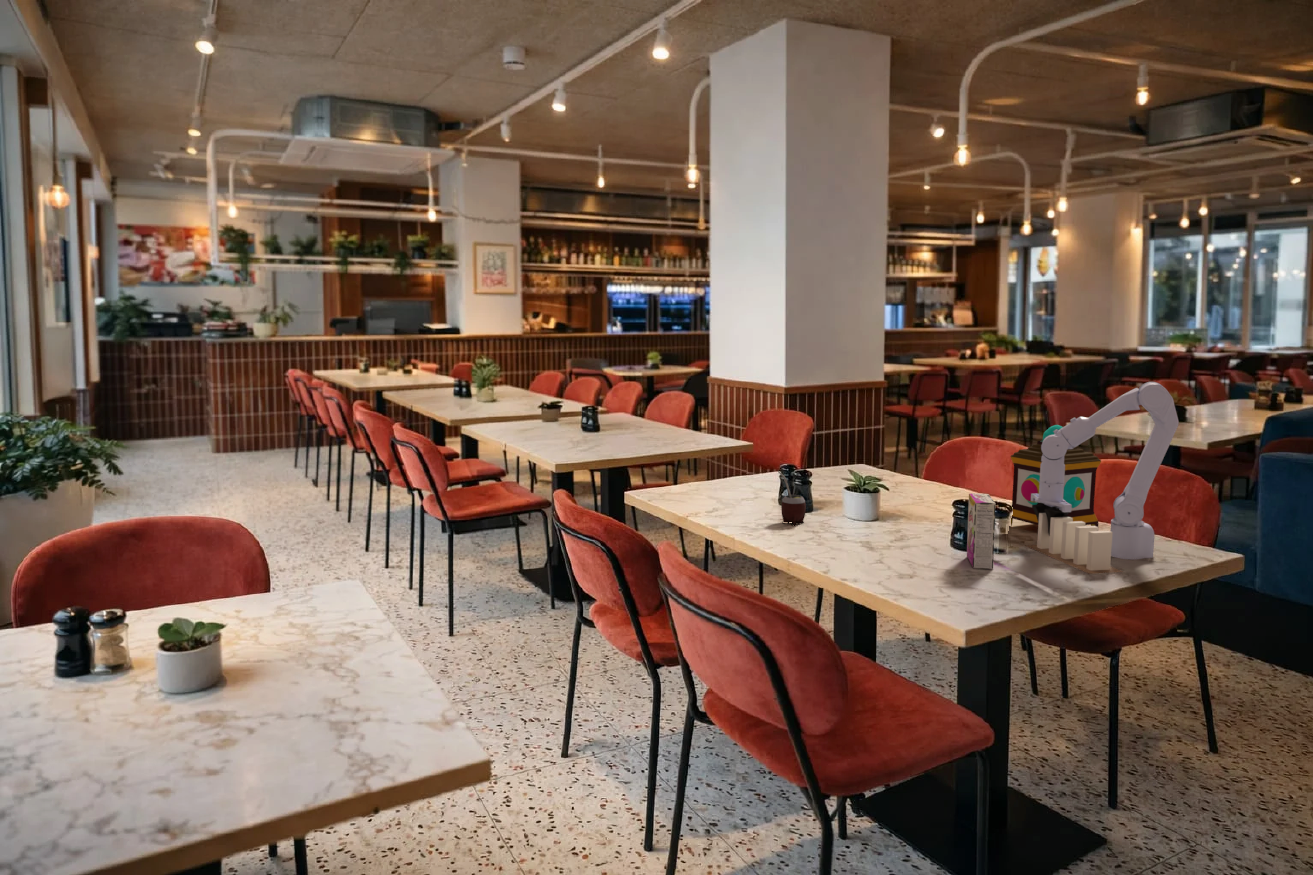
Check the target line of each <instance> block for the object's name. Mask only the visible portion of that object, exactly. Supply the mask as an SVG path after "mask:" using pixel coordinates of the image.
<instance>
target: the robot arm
mask: <svg viewBox="0 0 1313 875" xmlns="http://www.w3.org/2000/svg"><path fill="white" fill-rule="evenodd" d="M1140 406H1142V407H1143V408H1144V409H1145V410H1146V411H1147V412H1148V413H1149V416H1150V417H1151V419H1152V420H1153V422H1154V425H1153V427H1152V429H1151V432H1150V435H1149V436H1148V439H1147V441H1146V443H1145V445H1144V447H1143V449H1142V452H1141V455H1140V457H1139V458H1138V461H1137V464H1136V465H1135V467H1134V470H1133V472H1132V474H1131V476H1130V479H1129V481H1128V483H1127V484H1126V486H1125V487H1124V489H1123V492H1122V493H1121V494H1120V495H1118V496H1117V497H1116V498H1115V499H1114V501H1113V506H1112V507H1113V510H1114V517H1113V518H1112V519H1110V530H1109V531H1110V532H1113V533H1112V548H1111V557H1114V558H1118V559H1122V560H1141V559H1153V558H1154V551H1155V550H1154V548H1155V530H1154V529H1153V527H1152V526H1151V524H1149V523H1146V522H1145V521H1143V518H1144V516H1145V513H1144V512H1145V511H1144V506H1145V503H1146V500H1147V497H1148V493H1149V490H1150V489H1151V486H1152V484H1153V482H1154V479H1155V477H1156V475H1157V473H1158V470H1159V468H1160V467H1161V465H1162V462H1163V460H1164V457H1165V456H1166V455H1167V454H1166V453H1167V451H1168V449H1169V447H1170V445H1171V443H1172V440H1173V438H1174V436H1175V434H1176V431H1177V429H1178V427H1179V424H1180V422H1179V417H1178V414H1177V410H1176V405H1175V401H1174V398H1173V396H1172V395H1171V393H1170V392H1169V391H1168V389H1167V388H1165V387H1164V386H1163V385H1162V384H1160V383H1159V382H1156V381H1148V382H1145V383H1142V385H1140V386H1139V388H1138V387H1135V388H1133V389H1131V390H1129V391H1127V392H1125V393H1124V394H1121V395H1120V396H1118V397H1117V398H1115V399H1114V400H1113V401H1111V402H1110V403H1108V404H1106V405H1105V406H1104V407H1102V408H1101V409H1099V410H1098V411H1096V412H1095V413H1093V414H1092V415H1090V416H1089V417H1085V416H1079V417H1077V418H1076V417H1073V418H1071V419H1070V420H1069V421H1070V422H1069V423H1068V424H1066V425H1065V426H1062V427H1063V428H1061V429H1060V430H1057V429H1056V430H1055V431H1054V434H1055V435H1049V436H1047V437H1046V438H1045V439H1044V440H1043V439H1042V441H1043V442H1042V445H1041V450H1042V453H1043V454H1042V457H1041V461H1042V463H1041V466H1040V484H1039V494H1038V493H1036V494H1031V501H1035V502H1038V504H1037V505H1032V508H1033V510H1034V512H1035V514H1036V517H1037V520H1038V524H1039V513H1046V516H1047V520H1048V533H1049V536H1050V522H1051V517H1066V516H1067V515H1068V514H1069V512H1071V508H1072V505H1071V504H1069V503H1067V502H1066V501H1065V500H1063V492H1064V475H1065V464H1064V455H1065V454H1066V451H1067V449H1073V448H1075V447H1076V446H1079V445H1081V444H1083V443H1084V442H1086V441H1087V440H1089V439H1091V438H1092V437H1094V436H1096V430H1097V428H1098V427H1100V426H1102V425H1104V424H1106V423H1107V422H1109V421H1110V420H1112V419H1115V417H1117V416H1120V415H1121V414H1123V413H1124V412H1127V411H1139V410H1140V411H1141V408H1140Z"/></svg>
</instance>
